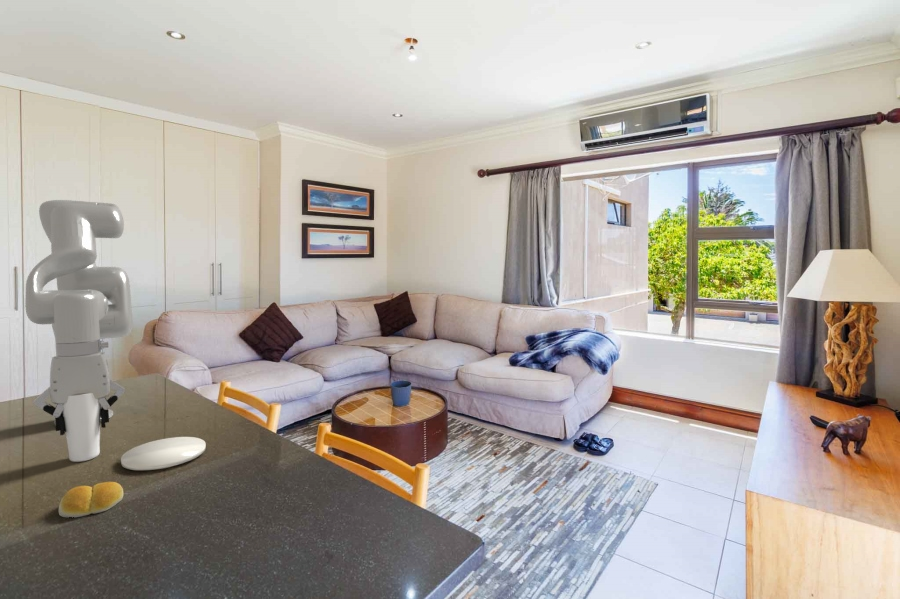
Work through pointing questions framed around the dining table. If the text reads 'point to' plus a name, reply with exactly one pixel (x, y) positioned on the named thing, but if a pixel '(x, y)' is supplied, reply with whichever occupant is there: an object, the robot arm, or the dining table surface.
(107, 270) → the robot arm
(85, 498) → the bread roll
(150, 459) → the cream dish
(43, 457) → the dining table surface
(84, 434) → the white cup
